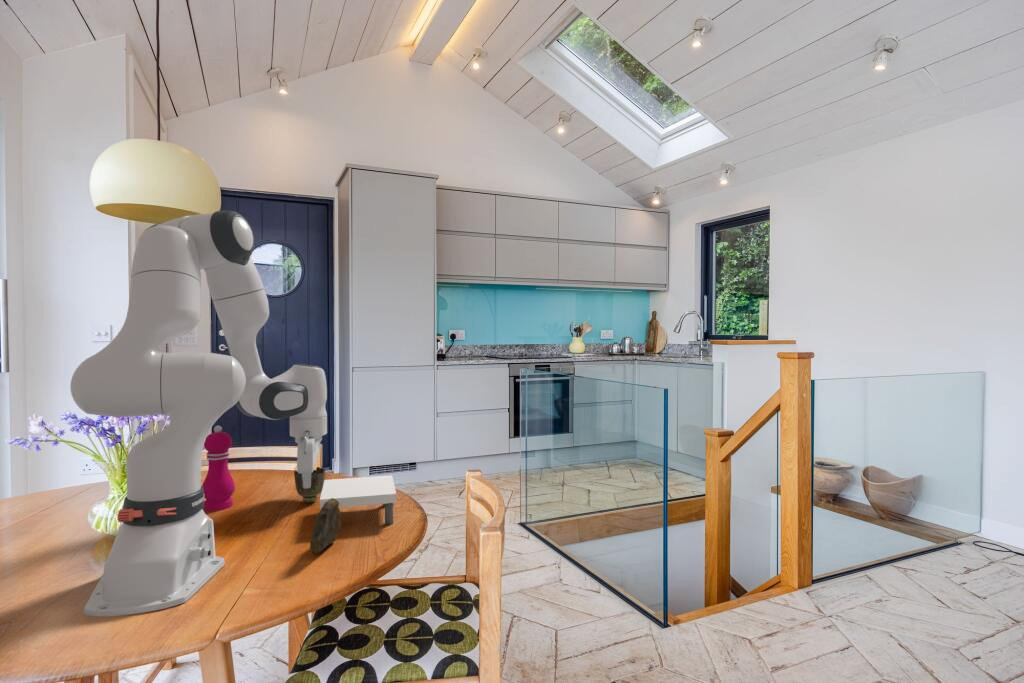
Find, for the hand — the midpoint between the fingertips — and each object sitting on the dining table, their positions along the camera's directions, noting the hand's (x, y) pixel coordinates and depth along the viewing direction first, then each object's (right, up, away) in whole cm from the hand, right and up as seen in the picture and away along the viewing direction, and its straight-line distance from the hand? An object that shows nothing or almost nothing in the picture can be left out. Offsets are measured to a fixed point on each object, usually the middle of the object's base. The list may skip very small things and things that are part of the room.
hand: (308, 482), depth 136 cm
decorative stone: (+15, -6, -30) cm, 34 cm away
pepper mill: (-20, -5, -5) cm, 21 cm away
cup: (0, -5, 0) cm, 5 cm away
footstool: (+16, -5, -11) cm, 20 cm away
